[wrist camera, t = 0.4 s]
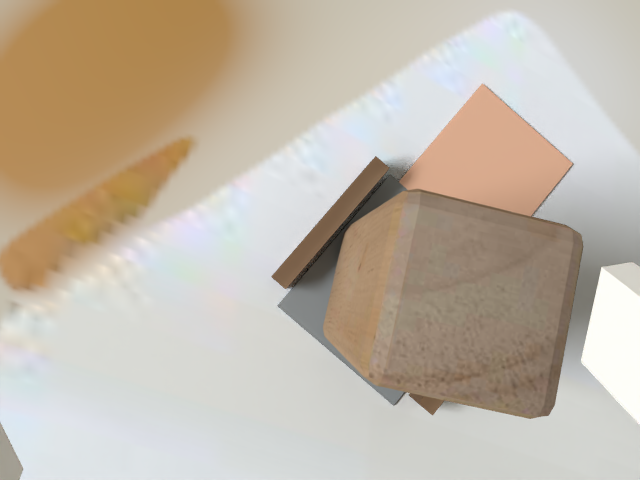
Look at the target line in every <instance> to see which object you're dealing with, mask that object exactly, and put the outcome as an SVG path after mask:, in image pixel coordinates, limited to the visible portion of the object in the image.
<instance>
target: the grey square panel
mask: <svg viewBox="0 0 640 480" xmlns="http://www.w3.org/2000/svg"><path fill="white" fill-rule="evenodd" d="M406 190H407V189H406V188H405V187H404V186H403V185H402V184H401V183H399V182H398V181H397V180H396V179H395V178H394V177H393V176H391V175H389V176H388V177H387V178H386V180H385V181H384V182H383V183H382V184H381V185H380V187H379V188H378V189H377V190H376V191H375V192H374V194H373V195H372V196H371V197H370V198H369V200H368V201H367V202H366V203H365V204H364V205H363V207H362V208H361V209H360V210H359V211H358V212H357V214H356V215H355V216H354V217H353V218H352V219H351V221H350V222H349V223H348V224H347V225H346V226H345V228H344V229H343V230H342V231H341V232H340V233H339V235H338V236H337V237H336V238H335V239H334V240H333V242H332V243H331V244H330V245H329V246H328V247H327V249H326V250H325V251H324V252H323V253H322V254H321V256H320V257H319V258H318V259H317V260H316V261H315V263H314V264H313V265H312V266H311V267H310V268H309V270H308V271H307V272H306V273H305V274H304V275H303V277H302V278H301V279H300V280H299V281H298V282H297V284H296V285H295V286H294V287H293V288H292V289H291V291H290V292H289V293H288V294H287V295H286V296H285V298H284V299H283V300H282V301H281V302H280V303H279V305H278V307H279V308H281V309H282V310H283V311H284V312H285V313H286V314H288V315H289V316H290V317H291V318H292V319H293V320H295V321H296V322H297V323H298V324H299V325H300V326H301V327H303V328H304V329H305V330H306V331H307V332H308V333H310V334H311V335H312V336H313V337H314V338H315V339H317V340H318V341H319V342H320V343H321V344H322V345H324V346H325V347H326V348H327V349H328V350H329V351H331V352H332V353H333V354H334V355H335V356H336V357H338V358H339V359H340V360H341V361H342V362H343V363H345V364H346V365H347V366H348V367H349V368H350V369H352V370H353V371H354V372H355V373H356V374H357V375H359V376H360V377H361V378H362V379H363V380H364V381H366V382H367V383H368V384H369V385H370V386H371V387H373V388H374V389H375V390H376V391H377V392H378V393H380V394H381V395H382V396H383V397H384V398H385V399H387V400H388V401H389V402H390V403H391V404H392V405H393V406H394V405H395V403H396V402H397V401H398V400H399V398H400V397H401V396H402V395H403V393H404V392H403V391H398V390H394V389H389V388H385V387H380V386H376V385H374V384H373V383H372V382H370V381H369V380H367V379H366V378H365V377H363V376H362V375H361V374H360V373H359V372H358V371H357V369H356V368H355V367H354V366H353V365H352V364H351V363H350V362H349V361H348V360H347V359H346V358H345V357H344V356H343V355H342V354H341V353H340V352H339V351H338V350H337V349H336V348H335V347H334V346H333V345H332V344H331V343H330V342H329V341H328V339H327V338H326V337H325V336H324V331H323V324H324V320H325V315H326V311H327V306H328V302H329V297H330V293H331V288H332V284H333V279H334V275H335V270H336V266H337V261H338V257H339V252H340V248H341V244H342V239H343V235H344V232H345V231H346V229H347V228H348V227H349V226H350V225H351V224H353V223H354V222H356V221H357V220H359V219H361V218H362V217H364V216H365V215H367V214H368V213H370V212H371V211H373V210H374V209H376V208H378V207H379V206H381V205H382V204H384V203H385V202H387V201H388V200H390V199H392V198H393V197H395V196H396V195H398V194H399V193H401V192H402V191H406Z"/></svg>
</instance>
